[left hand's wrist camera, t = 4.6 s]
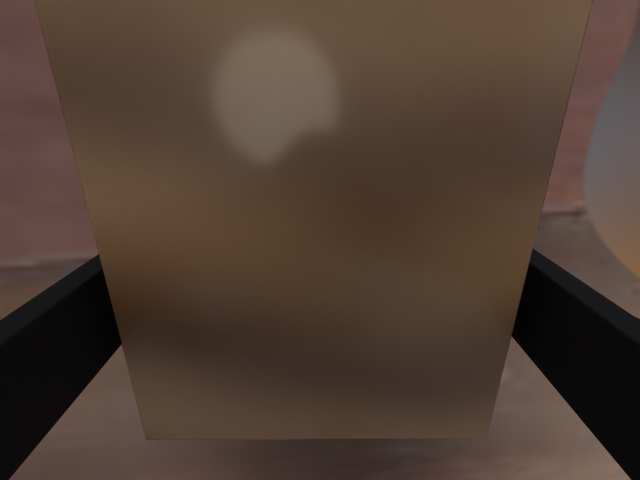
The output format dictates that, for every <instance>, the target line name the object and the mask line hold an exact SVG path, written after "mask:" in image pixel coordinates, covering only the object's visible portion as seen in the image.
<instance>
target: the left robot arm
mask: <svg viewBox="0 0 640 480" xmlns="http://www.w3.org/2000/svg"><path fill="white" fill-rule="evenodd" d="M511 336H512V337H513V338H514V339H515V341H516V342H517V343H518V344H519V345H520V347H521V348H522V349H523V350H524V351H525V353H526V354H527V355H528V356H529V357H530V359H531V360H532V361H533V362H534V363H535V365H536V366H537V367H538V368H539V369H540V371H541V372H542V373H543V374H544V375H545V377H546V378H547V379H548V380H549V381H550V383H551V384H552V385H553V386H554V387H555V389H556V390H557V391H558V392H559V393H560V395H561V396H562V397H563V398H564V399H565V401H566V402H567V403H568V404H569V405H570V407H571V408H572V409H573V410H574V411H575V413H576V414H577V415H578V416H579V417H580V419H581V420H582V421H583V422H584V423H585V425H586V426H587V427H588V428H589V429H590V431H591V432H592V433H593V434H594V435H595V437H596V438H597V439H598V440H599V441H600V443H601V444H602V445H603V446H604V447H605V449H606V450H607V451H608V452H609V453H610V455H611V456H612V457H613V458H614V459H615V461H616V462H617V463H618V464H619V465H620V467H621V468H622V469H623V470H624V471H625V473H626V474H627V475H628V476H629V477H630V479H631V480H640V319H639V318H636V317H634V316H633V315H631V314H630V313H628V312H627V311H625V310H624V309H622V308H621V307H619V306H618V305H616V304H615V303H613V302H612V301H610V300H609V299H607V298H606V297H604V296H603V295H601V294H600V293H598V292H597V291H595V290H594V289H592V288H591V287H589V286H588V285H586V284H585V283H583V282H582V281H580V280H579V279H577V278H576V277H574V276H573V275H571V274H570V273H568V272H567V271H565V270H564V269H562V268H561V267H559V266H558V265H556V264H555V263H554V262H552V261H551V260H549V259H548V258H546V257H545V256H543V255H542V254H540V253H539V252H537V251H536V250H534V249H532V253H531V257H530V261H529V265H528V269H527V274H526V278H525V282H524V286H523V290H522V294H521V298H520V302H519V307H518V311H517V315H516V319H515V323H514V327H513V331H512V335H511ZM121 344H122V343H121V339H120V335H119V331H118V327H117V323H116V319H115V315H114V311H113V307H112V303H111V299H110V295H109V292H108V288H107V284H106V280H105V276H104V272H103V268H102V264H101V260H100V256H99V254H98V255H97V256H95V257H94V258H92V259H91V260H89V261H88V262H86V263H85V264H84V265H82V266H81V267H79V268H78V269H76V270H75V271H73V272H72V273H70V274H69V275H67V276H66V277H64V278H63V279H61V280H60V281H58V282H57V283H55V284H54V285H52V286H51V287H49V288H48V289H46V290H45V291H43V292H42V293H40V294H39V295H37V296H36V297H34V298H33V299H31V300H30V301H28V302H27V303H25V304H24V305H22V306H21V307H19V308H18V309H16V310H15V311H13V312H12V313H10V314H9V315H7V316H6V317H4V318H3V319H2V320H0V480H9V479H10V477H11V476H12V475H13V474H14V473H15V471H16V470H17V469H18V468H19V467H20V465H21V464H22V463H23V462H24V461H25V459H26V458H27V457H28V456H29V455H30V453H31V452H32V451H33V450H34V449H35V447H36V446H37V445H38V444H39V443H40V441H41V440H42V439H43V438H44V437H45V435H46V434H47V433H48V432H49V431H50V429H51V428H52V427H53V426H54V425H55V423H56V422H57V421H58V420H59V419H60V417H61V416H62V415H63V414H64V413H65V411H66V410H67V409H68V408H69V407H70V405H71V404H72V403H73V402H74V401H75V399H76V398H77V397H78V396H79V395H80V393H81V392H82V391H83V390H84V389H85V387H86V386H87V385H88V384H89V383H90V381H91V380H92V379H93V378H94V377H95V375H96V374H97V373H98V372H99V371H100V369H101V368H102V367H103V366H104V365H105V363H106V362H107V361H108V360H109V359H110V357H111V356H112V355H113V354H114V353H115V351H116V350H117V349H118V348H119V347H120V345H121Z"/></svg>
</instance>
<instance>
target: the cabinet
mask: <svg viewBox="0 0 640 480" xmlns="http://www.w3.org/2000/svg"><path fill="white" fill-rule="evenodd" d="M34 1H35V5H36V9H37V12H38V16H39V20H40V24H41V28H42V32H43V36H44V40H45V44H46V48H47V52H48V56H49V60H50V64H51V68H52V71H53V75H54V79H55V83H56V87H57V91H58V95H59V99H60V103H61V107H62V111H63V115H64V119H65V123H66V126H67V130H68V134H69V138H70V142H71V146H72V150H73V154H74V158H75V162H76V166H77V170H78V174H79V178H80V181H81V185H82V189H83V193H84V197H85V201H86V205H87V209H88V213H89V217H90V221H91V225H92V229H93V233H94V237H95V240H96V244H97V248H98V252H99V256H100V260H101V264H102V268H103V272H104V276H105V280H106V284H107V288H108V292H109V295H110V299H111V303H112V307H113V311H114V315H115V319H116V323H117V327H118V331H119V335H120V339H121V343H122V347H123V350H124V354H125V358H126V362H127V366H128V370H129V374H130V378H131V382H132V386H133V390H134V394H135V398H136V402H137V406H138V409H139V413H140V417H141V421H142V425H143V429H144V433H145V437H146V440H264V439H460V438H487V434H488V430H489V426H490V422H491V418H492V413H493V409H494V405H495V401H496V397H497V393H498V389H499V385H500V381H501V376H502V372H503V368H504V364H505V360H506V356H507V352H508V348H509V344H510V339H511V335H512V331H513V327H514V323H515V319H516V315H517V311H518V307H519V302H520V298H521V294H522V290H523V286H524V282H525V278H526V274H527V269H528V265H529V261H530V257H531V253H532V249H533V245H534V241H535V237H536V232H537V228H538V224H539V220H540V216H541V212H542V208H543V204H544V200H545V195H546V191H547V187H548V183H549V179H550V175H551V171H552V167H553V163H554V158H555V154H556V150H557V146H558V142H559V138H560V134H561V130H562V126H563V121H564V117H565V113H566V109H567V105H568V101H569V97H570V93H571V88H572V84H573V80H574V76H575V72H576V68H577V64H578V60H579V56H580V51H581V47H582V43H583V39H584V35H585V31H586V27H587V23H588V19H589V14H590V10H591V6H592V2H593V0H34Z"/></svg>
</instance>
